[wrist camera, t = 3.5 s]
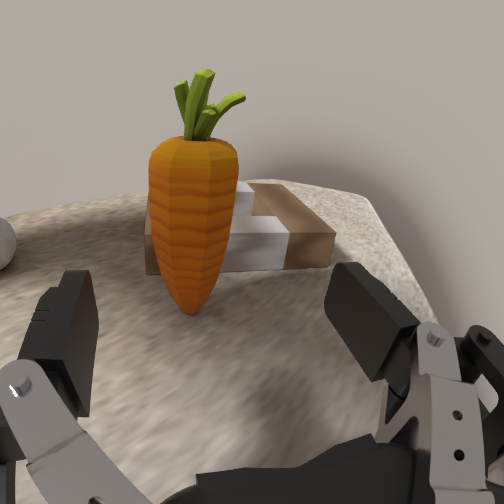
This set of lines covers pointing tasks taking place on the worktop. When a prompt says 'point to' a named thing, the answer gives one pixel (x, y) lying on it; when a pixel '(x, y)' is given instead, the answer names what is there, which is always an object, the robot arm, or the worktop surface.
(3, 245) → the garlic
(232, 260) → the brown and silver frame
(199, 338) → the worktop surface
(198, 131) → the carrot
